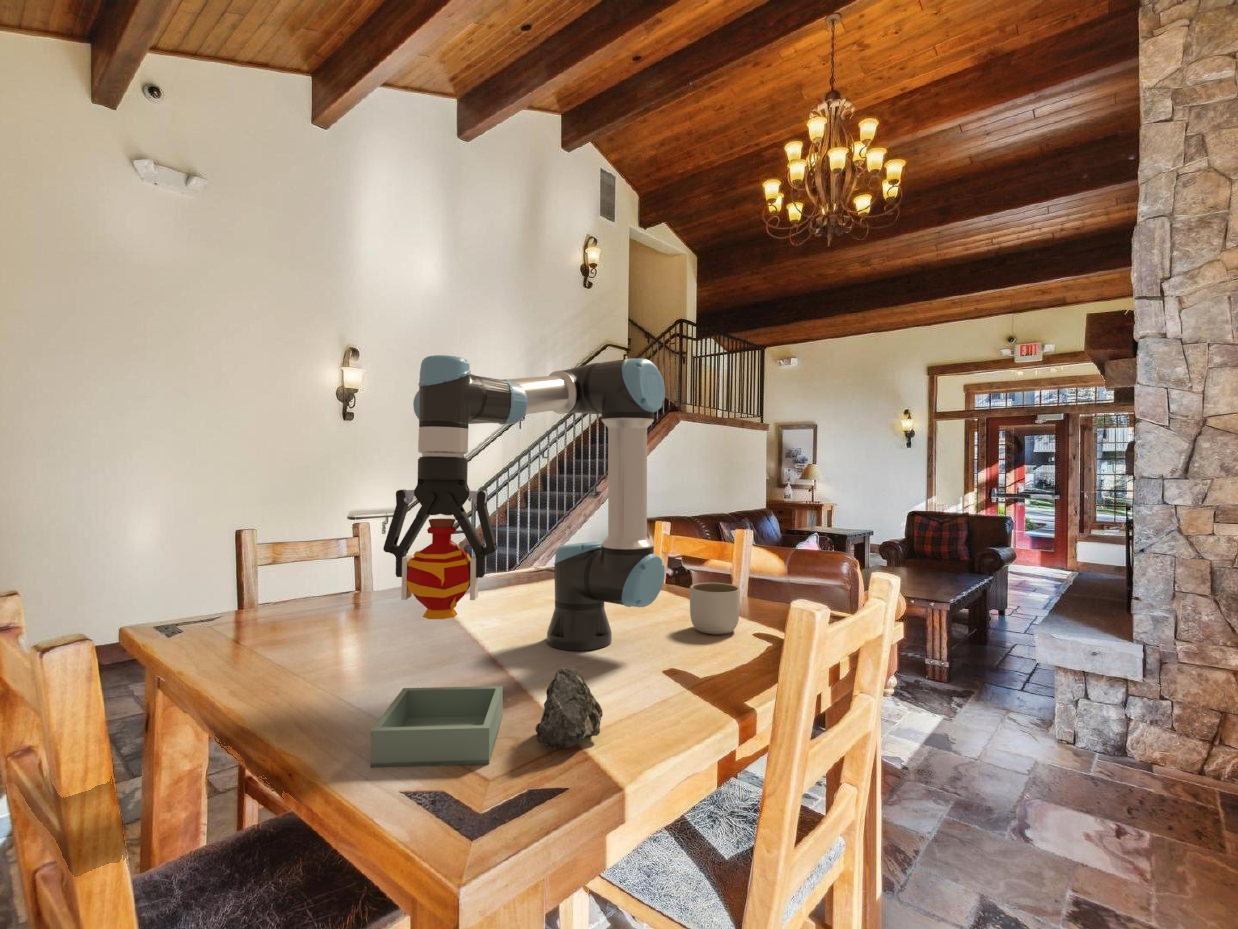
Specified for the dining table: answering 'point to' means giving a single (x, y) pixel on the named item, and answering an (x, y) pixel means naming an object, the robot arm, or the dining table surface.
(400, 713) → the bin
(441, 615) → the potion bottle
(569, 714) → the rock
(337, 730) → the dining table surface
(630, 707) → the dining table surface
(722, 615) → the planter
